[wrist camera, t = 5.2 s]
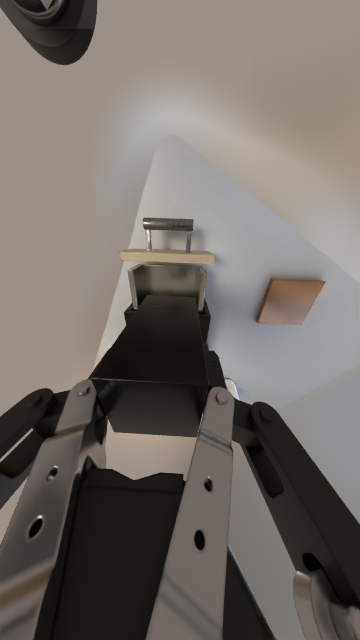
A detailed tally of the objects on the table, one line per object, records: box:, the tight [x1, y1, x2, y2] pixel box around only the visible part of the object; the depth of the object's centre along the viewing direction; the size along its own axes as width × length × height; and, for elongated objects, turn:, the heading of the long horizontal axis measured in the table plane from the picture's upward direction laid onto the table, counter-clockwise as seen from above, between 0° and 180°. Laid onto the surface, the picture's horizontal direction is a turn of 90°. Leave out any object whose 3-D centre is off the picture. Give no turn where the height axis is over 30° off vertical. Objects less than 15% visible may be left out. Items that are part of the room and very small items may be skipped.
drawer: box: [120, 218, 215, 314], centre depth 25 cm, size 18×13×7 cm
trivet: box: [256, 279, 325, 325], centre depth 30 cm, size 10×10×1 cm
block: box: [90, 295, 209, 437], centre depth 11 cm, size 5×5×10 cm
